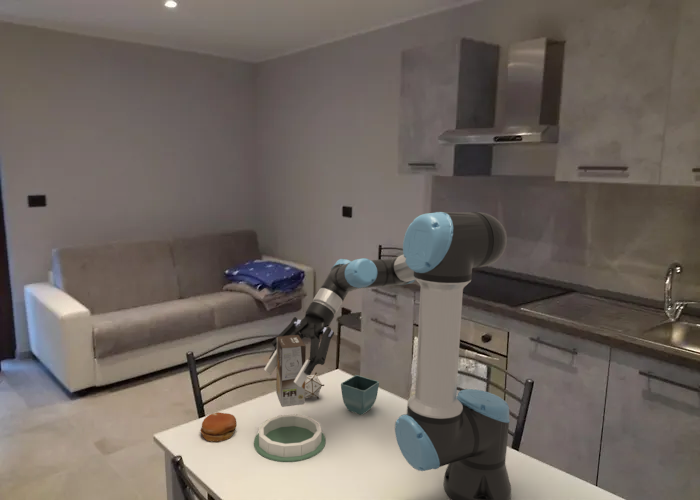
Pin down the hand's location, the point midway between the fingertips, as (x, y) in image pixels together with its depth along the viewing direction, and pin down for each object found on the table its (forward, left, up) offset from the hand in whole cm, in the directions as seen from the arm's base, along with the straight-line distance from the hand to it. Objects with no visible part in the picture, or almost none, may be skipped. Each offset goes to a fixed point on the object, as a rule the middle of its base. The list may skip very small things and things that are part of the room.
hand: (281, 378), depth 130 cm
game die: (+18, -23, -19) cm, 34 cm away
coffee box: (0, -3, -7) cm, 7 cm away
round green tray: (0, -3, -19) cm, 19 cm away
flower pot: (+2, -30, -19) cm, 35 cm away
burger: (+16, +10, -19) cm, 26 cm away
